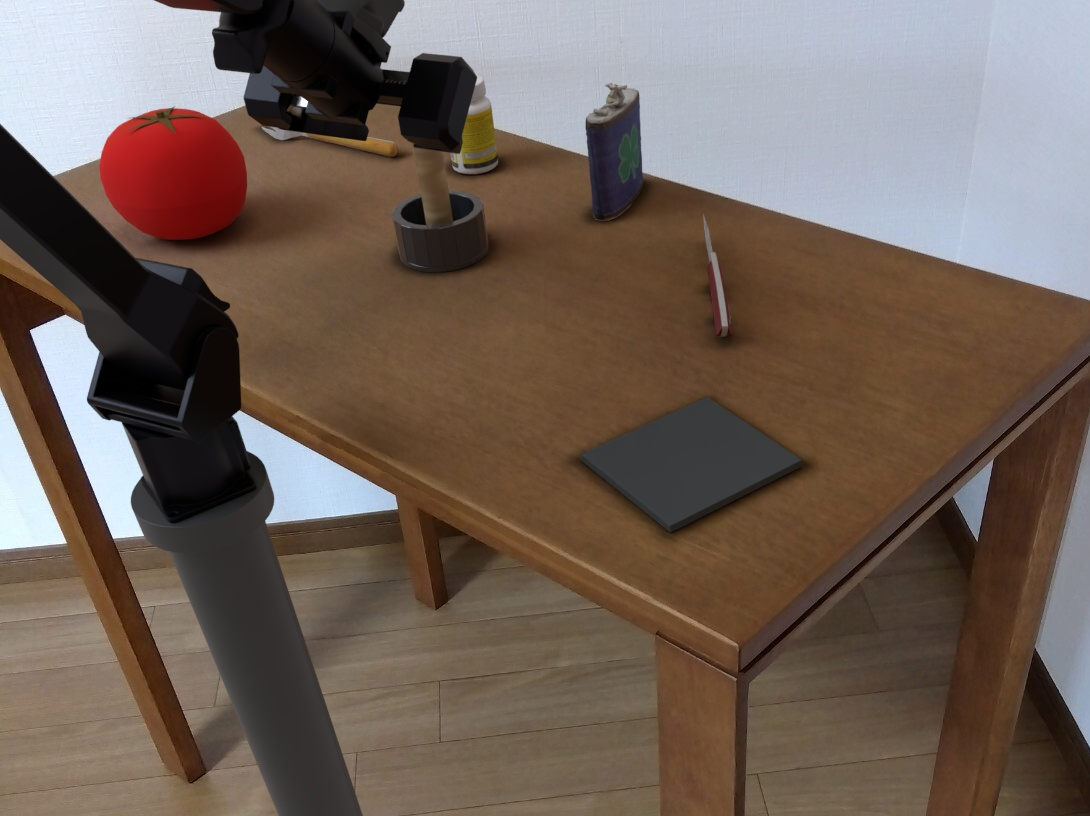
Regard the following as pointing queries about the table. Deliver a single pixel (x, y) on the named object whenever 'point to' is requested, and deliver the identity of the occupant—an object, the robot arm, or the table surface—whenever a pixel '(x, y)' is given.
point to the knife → (717, 290)
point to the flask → (615, 152)
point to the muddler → (433, 186)
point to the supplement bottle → (477, 136)
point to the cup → (441, 234)
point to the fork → (342, 141)
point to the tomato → (174, 174)
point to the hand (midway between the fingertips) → (412, 141)
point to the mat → (690, 463)
